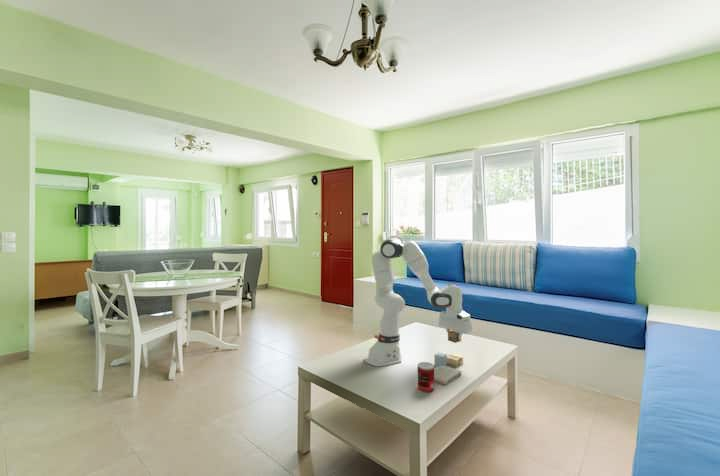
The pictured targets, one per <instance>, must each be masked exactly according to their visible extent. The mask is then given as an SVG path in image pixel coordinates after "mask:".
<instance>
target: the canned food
mask: <svg viewBox="0 0 720 476" xmlns="http://www.w3.org/2000/svg"><path fill="white" fill-rule="evenodd" d="M434 368H435V364H433V363H431V362H428V361H421V362H419V363H418V364H417V388H418V389H419V391H421V392H424V393H430V392H433V391H434V389H435V381H434Z"/></svg>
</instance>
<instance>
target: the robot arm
mask: <svg viewBox="0 0 720 476" xmlns="http://www.w3.org/2000/svg"><path fill="white" fill-rule="evenodd" d="M400 257H401V258H403V260H404V261H405V263H406V265H407V267H408V268H409V269H410V272H412V273H413V274H414V275H415V276H416V277H417V278H418V279H419V281H420V282H421V284H422V286H423V287H424V290H425V293H426V298H427V299H426V300H427V301H428V302H429V304H431V306H432V307H434V308H435V309H443V308H444V309H445V310H441V311H440V312H439V317H438V326H439V327H441V328H444V329H445V331H446V333H447V334H448V332H449V331H452V330H454V331H457V332H459V336H457V339H458V340H461V341H462V337H463V335H464V334H465V335H469V334H471V333H472V321H471V315H470V313H467V312H466V311H465V310H463V304H462V303H463V292H462V291H463V289H462V288H461V287H460V286H459V285H455V284H452V283H451V284H450V283H449V284H447V285H446V286H444V287H443V288H439V287H437V285H436V283H434V281H433V278H432V277H431V275H430V272H429V267H430V266H429V263H428V259H427V258H426V255H425V253H424V251H422V249H421V248H420V247H419V245H418V244H417V243H416V241H413V240H408V241H405V242H403V240H402V238H400V237H399V236H396V235H392V236H389V237H388V238H386V239H385V240H384V241H383V242H382V243H381V245H380V250H378V251H376V252H374V253H373V254H372V256H371V263H372V270H373V271H372V272H373V276H374V279H375V280H374V282H375V296H374V301H375V303H376V305H378V307H380V308H381V309H383V313H382V317H381V318H380V321H379V334H378V335H377V334H374V339H376V340H377V341H376V342H375V343H374V344H373V345H372V346H370V348H369V349H368V356H365V357H364V361H365V362H366V363H367V364H369V365H372V366H374V367H378V368H379V367H383V366H389V365H393V364H394V365H395V364H400V363H401V362H402V353H401V348H400V331H399V330H400V327H399V326H400V318H401V313H402V312H403V311H404V309H405V306H406V302H405V299H404V298H403V297H402V296H401V295H400V294H398V293H395V292H394V289H393V287H394V283H395V275H394V272H393V267H392V262H391V261H392V259H396V258H400Z"/></svg>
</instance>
